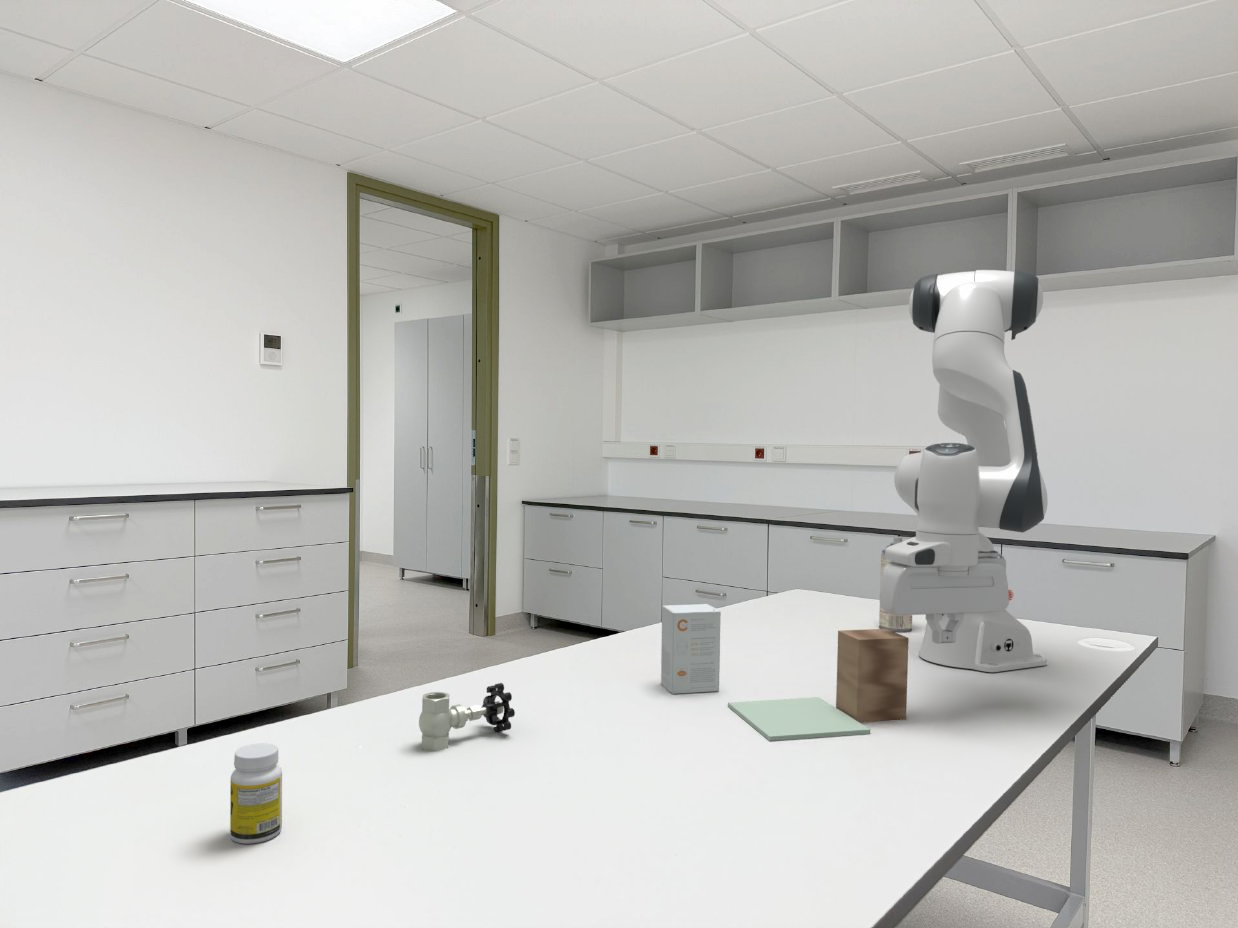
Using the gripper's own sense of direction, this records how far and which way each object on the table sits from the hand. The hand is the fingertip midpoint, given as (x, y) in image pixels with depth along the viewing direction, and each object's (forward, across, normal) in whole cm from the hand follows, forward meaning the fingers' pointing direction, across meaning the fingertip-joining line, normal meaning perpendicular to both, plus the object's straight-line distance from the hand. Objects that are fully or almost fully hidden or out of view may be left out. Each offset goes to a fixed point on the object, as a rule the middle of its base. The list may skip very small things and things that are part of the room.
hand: (943, 642), depth 128 cm
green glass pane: (+10, +24, 0) cm, 26 cm away
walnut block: (+10, +12, 0) cm, 16 cm away
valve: (+11, +71, -1) cm, 72 cm away
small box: (+10, +34, -18) cm, 40 cm away
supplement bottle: (+11, +93, +22) cm, 96 cm away
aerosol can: (+10, -25, -52) cm, 59 cm away
